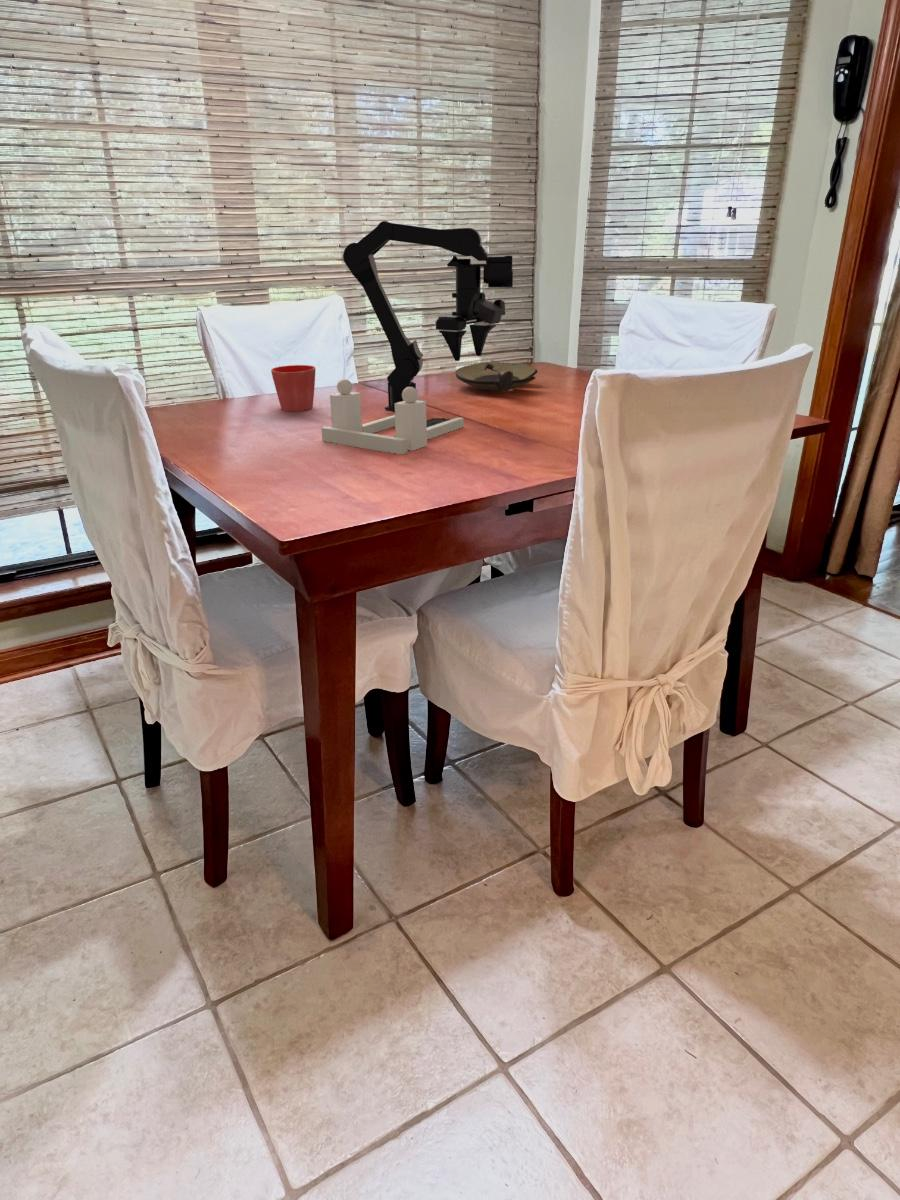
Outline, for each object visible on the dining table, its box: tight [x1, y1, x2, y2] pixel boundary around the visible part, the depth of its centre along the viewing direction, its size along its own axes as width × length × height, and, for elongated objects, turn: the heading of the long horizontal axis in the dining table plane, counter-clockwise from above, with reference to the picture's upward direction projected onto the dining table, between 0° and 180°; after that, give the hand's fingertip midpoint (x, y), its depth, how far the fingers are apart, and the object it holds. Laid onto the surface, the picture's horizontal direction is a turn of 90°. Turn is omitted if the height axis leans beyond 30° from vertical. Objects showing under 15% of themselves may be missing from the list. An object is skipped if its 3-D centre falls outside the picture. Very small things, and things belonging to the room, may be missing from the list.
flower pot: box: [271, 364, 316, 412], centre depth 199 cm, size 11×11×10 cm
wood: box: [394, 417, 452, 437], centre depth 177 cm, size 22×7×3 cm, turn 149°
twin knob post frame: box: [321, 378, 465, 456], centre depth 172 cm, size 21×26×12 cm
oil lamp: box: [454, 361, 538, 392], centre depth 219 cm, size 22×30×8 cm
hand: (468, 358), depth 193 cm, fingers open, 9 cm apart
